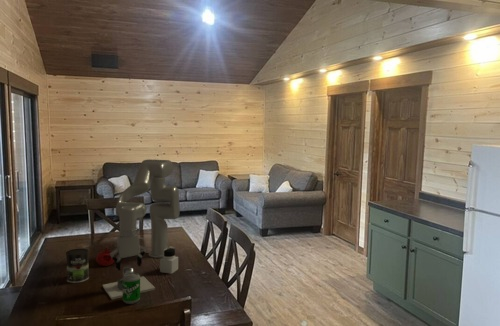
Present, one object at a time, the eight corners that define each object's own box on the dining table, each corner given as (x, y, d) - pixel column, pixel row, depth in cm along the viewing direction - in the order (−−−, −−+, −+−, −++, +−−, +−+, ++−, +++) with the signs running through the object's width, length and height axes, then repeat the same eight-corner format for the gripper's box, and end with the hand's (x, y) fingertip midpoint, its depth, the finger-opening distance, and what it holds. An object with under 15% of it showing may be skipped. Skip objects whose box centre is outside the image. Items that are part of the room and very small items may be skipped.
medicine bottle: (178, 269, 211) (178, 247, 210) (171, 274, 205) (171, 251, 203) (166, 267, 214) (166, 246, 212) (159, 272, 207) (159, 250, 206)
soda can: (124, 297, 176) (124, 271, 175) (141, 297, 177) (141, 271, 176) (120, 305, 169) (120, 278, 168) (138, 304, 169) (138, 278, 168)
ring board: (143, 278, 198) (143, 271, 198) (154, 289, 185) (154, 282, 185) (102, 286, 187) (102, 279, 187) (111, 299, 174) (111, 291, 174)
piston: (132, 283, 190) (132, 265, 189) (135, 286, 185) (135, 268, 185) (121, 285, 187) (121, 267, 186) (124, 289, 183) (124, 270, 182)
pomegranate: (92, 265, 215) (91, 249, 214) (106, 260, 224) (106, 244, 223) (105, 268, 210) (104, 251, 209) (119, 262, 219) (118, 246, 218)
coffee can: (90, 281, 194) (89, 253, 192) (67, 284, 189) (66, 256, 187) (88, 273, 203) (87, 247, 201) (66, 277, 198) (65, 249, 197)
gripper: (143, 227, 191) (144, 261, 194) (107, 233, 182) (108, 268, 184) (148, 231, 185) (149, 266, 188) (111, 237, 176) (112, 274, 178)
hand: (129, 267), depth 186 cm, fingers open, 9 cm apart
